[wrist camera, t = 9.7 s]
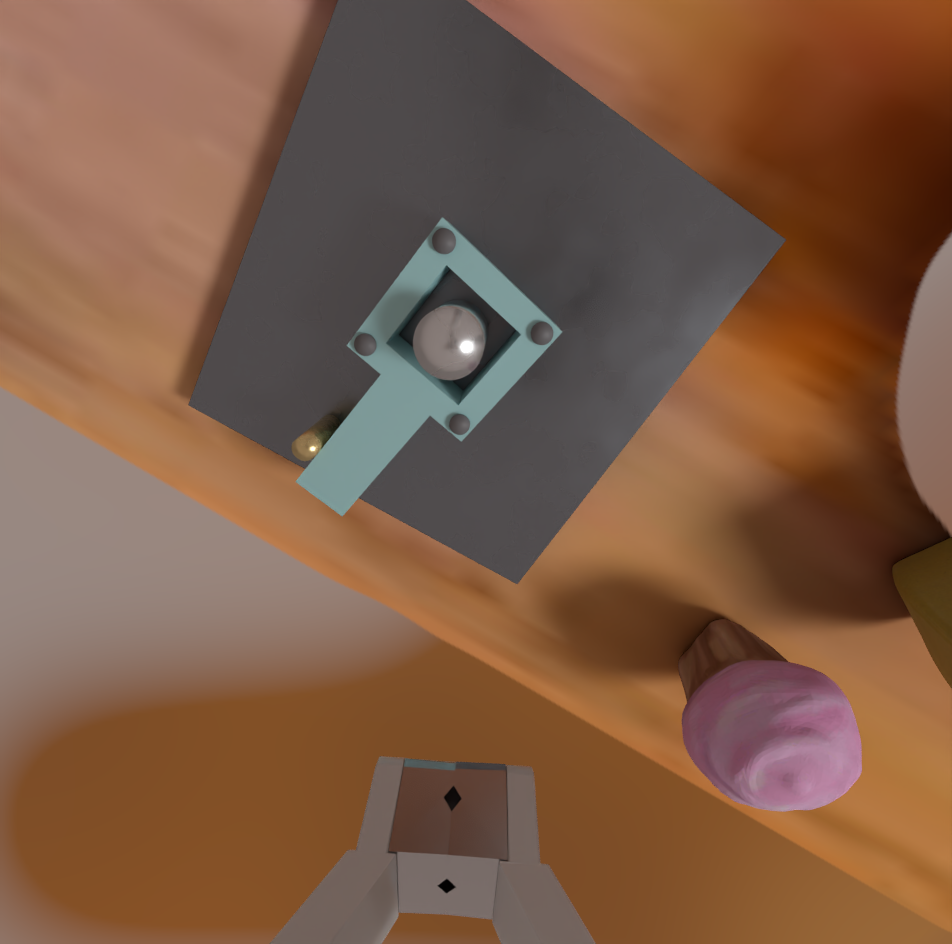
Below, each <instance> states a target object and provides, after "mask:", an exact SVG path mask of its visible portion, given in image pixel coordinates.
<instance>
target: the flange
mask: <svg viewBox="0 0 952 944" xmlns="http://www.w3.org/2000/svg"><path fill="white" fill-rule="evenodd" d="M450 269H451V270H452V271H453V272H455V273H456V274H457V275H458V276H459V277H460V278H461V279H462V280H463V281H464V282H465V283H466V284H467V285H468V286H470V287H471V288H472V289H473V290H474V291H475V292H476V293H477V294H478V295H479V296H480V297H481V298H482V299H484V300H485V301H486V302H487V303H488V304H489V305H490V306H491V307H492V308H493V309H494V310H495V311H496V312H498V313H499V314H500V315H501V316H502V317H503V318H504V319H505V320H506V321H507V322H508V323H509V324H510V325H511V326H513V327H514V328H515V329H516V332H515V333H514V334H513V335H512V336H511V337H510V338H509V339H508V341H507V342H506V343H505V344H504V345H503V346H502V347H501V349H500V350H499V351H498V352H497V353H496V354H495V355H494V356H493V358H492V359H491V360H490V361H489V362H488V363H487V364H486V366H485V367H484V368H483V369H482V370H481V371H480V372H479V374H478V375H477V376H476V377H475V378H474V379H473V380H472V381H471V383H470V384H469V385H468V386H467V387H466V388H465V389H464V391H463V390H462V389H461V388H459V387H458V386H457V385H456V384H455V383H454V382H453V381H451V380H443V379H439V378H436V377H434V376H432V375H430V374H429V373H428V372H426V371H425V370H424V369H423V368H422V367H421V365H420V364H419V362H418V360H417V358H416V356H415V353H414V349H413V347H412V346H411V345H410V344H409V343H408V342H406V341H405V340H404V339H403V338H402V337H401V336H400V335H399V334H400V332H401V331H402V330H403V328H404V327H405V326H406V325H407V323H408V322H409V321H410V320H411V318H412V317H413V316H414V314H415V313H416V312H417V311H418V309H419V308H420V307H421V305H422V304H423V303H424V302H425V300H426V299H427V298H428V297H429V295H430V294H431V293H432V291H433V290H434V289H435V288H436V286H437V285H438V284H439V283H440V281H441V280H442V279H443V277H444V276H445V275H446V274H447V272H448V271H449V270H450ZM561 333H562V331H561V330H560V328H559V327H558V326H557V325H556V324H555V323H554V322H553V321H552V320H551V319H550V318H549V317H548V316H547V315H546V314H545V313H544V312H543V311H542V310H540V309H539V308H538V307H537V306H536V305H535V304H534V303H533V302H532V301H531V300H530V299H529V298H528V297H527V296H526V295H525V294H524V293H523V292H522V291H521V290H520V289H519V288H517V287H516V286H515V285H514V284H513V283H512V282H511V281H510V280H509V279H508V278H507V277H506V276H505V275H504V274H503V273H502V272H501V271H500V270H499V269H498V268H497V267H496V266H494V265H493V264H492V263H491V262H490V261H489V260H488V259H487V258H486V257H485V256H484V255H483V254H482V253H481V252H480V251H479V250H478V249H477V248H476V247H475V246H474V245H472V244H471V243H470V242H469V241H468V240H467V239H466V238H465V237H464V236H463V235H462V234H461V233H460V232H459V231H458V230H457V229H456V228H455V227H454V226H453V225H452V224H451V223H449V222H448V221H447V220H445V219H444V218H443V217H442V218H441V220H440V221H439V222H438V224H437V225H436V226H435V228H434V229H433V230H432V232H431V233H430V234H429V236H428V237H427V238H426V240H425V241H424V242H423V244H422V245H421V246H420V248H419V249H418V250H417V252H416V253H415V255H414V256H413V257H412V259H411V260H410V261H409V263H408V264H407V265H406V267H405V268H404V269H403V271H402V272H401V273H400V275H399V276H398V277H397V279H396V280H395V281H394V283H393V284H392V285H391V287H390V288H389V289H388V291H387V292H386V293H385V295H384V296H383V297H382V299H381V300H380V301H379V303H378V304H377V305H376V307H375V308H374V309H373V311H372V312H371V314H370V315H369V316H368V318H367V319H366V320H365V322H364V323H363V324H362V326H361V327H360V328H359V330H358V331H357V332H356V334H355V335H354V336H353V338H352V339H351V340H350V342H349V343H348V344H347V346H348V347H349V348H350V349H351V350H352V351H354V352H355V353H356V354H357V355H358V356H359V357H361V358H362V359H363V360H364V361H365V362H367V363H368V364H369V365H370V366H371V367H373V368H374V369H375V370H376V371H377V372H379V373H380V374H381V375H380V376H379V377H378V379H377V380H376V381H375V382H374V384H373V385H372V386H371V387H370V389H369V390H368V391H367V392H366V394H365V395H364V396H363V397H362V399H361V400H360V401H359V402H358V404H357V405H356V406H355V408H354V409H353V410H352V411H351V413H350V414H349V415H348V416H347V418H346V419H345V420H344V421H343V423H342V424H341V425H340V426H339V428H338V429H337V430H336V431H335V433H334V434H333V435H332V436H331V438H330V439H329V440H328V441H327V443H326V444H325V445H324V446H323V448H322V449H321V450H320V452H319V453H318V454H317V455H316V457H315V458H314V459H313V460H312V462H311V463H310V464H309V465H308V467H307V468H306V469H305V470H304V472H303V473H302V474H301V475H300V477H299V478H298V479H297V480H296V482H297V483H298V484H299V485H301V486H302V487H303V488H305V489H306V490H307V491H309V492H310V493H311V494H313V495H314V496H315V497H317V498H318V499H320V500H321V501H322V502H324V503H325V504H326V505H328V506H329V507H330V508H332V509H333V510H334V511H336V512H337V513H338V514H340V515H341V516H343V515H344V514H345V513H346V511H347V510H348V509H349V508H350V507H351V506H352V505H353V503H354V502H355V501H356V500H357V499H358V498H359V497H360V495H361V494H362V493H363V492H364V491H365V490H366V488H367V487H368V486H369V485H370V484H371V483H372V482H373V480H374V479H375V478H376V477H377V476H378V475H379V474H380V472H381V471H382V470H383V469H384V468H385V467H386V466H387V464H388V463H389V462H390V461H391V460H392V459H393V457H394V456H395V455H396V454H397V453H398V452H399V451H400V449H401V448H402V447H403V446H404V445H405V444H406V443H407V441H408V440H409V439H410V438H411V437H412V436H413V434H414V433H415V432H416V431H417V430H418V429H419V428H420V426H421V425H422V424H423V423H424V422H425V421H426V420H427V418H428V417H429V416H431V417H432V418H434V419H435V420H436V421H437V422H438V423H440V424H441V425H442V426H443V427H444V428H446V429H447V430H448V431H449V432H450V433H452V434H453V435H454V436H455V437H456V438H457V439H459V440H460V441H461V442H462V440H463V439H464V438H465V437H466V436H467V435H468V434H469V433H470V432H471V431H472V430H473V429H474V427H475V426H476V425H477V424H478V423H479V422H480V421H481V420H482V419H483V418H484V417H485V416H486V414H487V413H488V412H489V411H490V410H491V409H492V408H493V407H494V406H495V405H496V404H497V402H498V401H499V400H500V399H501V398H502V397H503V396H504V395H505V394H506V393H507V392H508V391H509V389H510V388H511V387H512V386H513V385H514V384H515V383H516V382H517V381H518V380H519V379H520V378H521V376H522V375H523V374H524V373H525V372H526V371H527V370H528V369H529V368H530V367H531V366H532V365H533V363H534V362H535V361H536V360H537V359H538V358H539V357H540V356H541V355H542V354H543V353H544V351H545V350H546V349H547V348H548V347H549V346H550V345H551V344H552V343H553V342H554V341H555V340H556V338H557V337H558V336H559V335H560V334H561Z"/></svg>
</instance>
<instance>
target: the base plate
mask: <svg viewBox="0 0 952 944" xmlns="http://www.w3.org/2000/svg"><path fill="white" fill-rule="evenodd" d="M442 217H443V218H444V219H445V220H447V221H448V222H449V223H451V224H452V225H453V226H454V227H455V228H456V229H457V230H458V231H459V232H460V233H461V234H462V235H463V236H464V237H465V238H466V239H467V240H468V241H469V242H470V243H471V244H472V245H474V246H475V247H476V248H477V249H478V250H479V251H480V252H481V253H482V254H483V255H484V256H485V257H486V258H487V259H488V260H489V261H490V262H491V263H492V264H493V265H494V266H496V267H497V268H498V269H499V270H500V271H501V272H502V273H503V274H504V275H505V276H506V277H507V278H508V279H509V280H510V281H511V282H512V283H513V284H514V285H515V286H516V287H517V288H519V289H520V290H521V291H522V292H523V293H524V294H525V295H526V296H527V297H528V298H529V299H530V300H531V301H532V302H533V303H534V304H535V305H536V306H537V307H538V308H539V309H540V310H542V311H543V312H544V313H545V314H546V315H547V316H548V317H549V318H550V319H551V320H552V321H553V322H554V323H555V324H556V325H557V326H558V327H559V328H560V330H561V331H562V333H561V334H560V335H559V336H558V337H557V338H556V340H555V341H554V342H553V343H552V344H551V345H550V346H549V347H548V348H547V349H546V350H545V351H544V353H543V354H542V355H541V356H540V357H539V358H538V359H537V360H536V361H535V362H534V363H533V365H532V366H531V367H530V368H529V369H528V370H527V371H526V372H525V373H524V374H523V375H522V376H521V378H520V379H519V380H518V381H517V382H516V383H515V384H514V385H513V386H512V387H511V388H510V389H509V391H508V392H507V393H506V394H505V395H504V396H503V397H502V398H501V399H500V400H499V401H498V402H497V404H496V405H495V406H494V407H493V408H492V409H491V410H490V411H489V412H488V413H487V414H486V416H485V417H484V418H483V419H482V420H481V421H480V422H479V423H478V424H477V425H476V426H475V427H474V429H473V430H472V431H471V432H470V433H469V434H468V435H467V436H466V437H465V438H464V439H463V440H462V442H461V441H460V440H459V439H457V438H456V437H455V436H454V435H453V434H452V433H450V432H449V431H448V430H447V429H446V428H444V427H443V426H442V425H441V424H440V423H438V422H437V421H436V420H435V419H434V418H432V417H431V416H429V417H428V418H427V420H426V421H425V422H424V423H423V424H422V425H421V426H420V428H419V429H418V430H417V431H416V432H415V433H414V434H413V436H412V437H411V438H410V439H409V440H408V441H407V443H406V444H405V445H404V446H403V447H402V448H401V449H400V451H399V452H398V453H397V454H396V455H395V456H394V457H393V459H392V460H391V461H390V462H389V463H388V464H387V466H386V467H385V468H384V469H383V470H382V471H381V472H380V474H379V475H378V476H377V477H376V478H375V479H374V480H373V482H372V483H371V484H370V485H369V486H368V487H367V488H366V490H365V491H364V492H363V493H362V494H361V495H360V497H359V498H360V499H362V500H363V501H365V502H367V503H369V504H371V505H373V506H374V507H376V508H378V509H380V510H382V511H384V512H386V513H387V514H389V515H391V516H393V517H395V518H397V519H398V520H400V521H402V522H404V523H406V524H408V525H409V526H411V527H413V528H415V529H417V530H419V531H420V532H422V533H424V534H426V535H428V536H430V537H431V538H433V539H435V540H437V541H439V542H441V543H442V544H444V545H446V546H448V547H450V548H452V549H453V550H455V551H457V552H459V553H461V554H463V555H464V556H466V557H468V558H470V559H472V560H474V561H475V562H477V563H479V564H481V565H483V566H485V567H486V568H488V569H490V570H492V571H494V572H496V573H498V574H499V575H501V576H503V577H505V578H507V579H509V580H510V581H512V582H514V583H516V584H518V583H519V581H520V580H521V579H522V577H523V576H524V575H525V574H526V572H527V571H528V570H529V568H530V567H531V566H532V565H533V563H534V562H535V561H536V559H537V558H538V557H539V556H540V554H541V553H542V552H543V551H544V549H545V548H546V547H547V545H548V544H549V543H550V542H551V540H552V539H553V538H554V536H555V535H556V534H557V533H558V531H559V530H560V529H561V527H562V526H563V525H564V524H565V522H566V521H567V520H568V519H569V517H570V516H571V515H572V513H573V512H574V511H575V510H576V508H577V507H578V506H579V504H580V503H581V502H582V501H583V499H584V498H585V497H586V495H587V494H588V493H589V492H590V490H591V489H592V488H593V487H594V485H595V484H596V483H597V481H598V480H599V479H600V478H601V476H602V475H603V474H604V472H605V471H606V470H607V469H608V467H609V466H610V465H611V463H612V462H613V461H614V460H615V458H616V457H617V456H618V455H619V453H620V452H621V451H622V449H623V448H624V447H625V446H626V444H627V443H628V442H629V440H630V439H631V438H632V437H633V435H634V434H635V433H636V431H637V430H638V429H639V428H640V426H641V425H642V424H643V423H644V421H645V420H646V419H647V417H648V416H649V415H650V414H651V412H652V411H653V410H654V408H655V407H656V406H657V405H658V403H659V402H660V401H661V399H662V398H663V397H664V396H665V394H666V393H667V392H668V391H669V389H670V388H671V387H672V385H673V384H674V383H675V382H676V380H677V379H678V378H679V376H680V375H681V374H682V373H683V371H684V370H685V369H686V367H687V366H688V365H689V364H690V362H691V361H692V360H693V358H694V357H695V356H696V355H697V353H698V352H699V351H700V350H701V348H702V347H703V346H704V344H705V343H706V342H707V341H708V339H709V338H710V337H711V335H712V334H713V333H714V332H715V330H716V329H717V328H718V326H719V325H720V324H721V323H722V321H723V320H724V319H725V318H726V316H727V315H728V314H729V312H730V311H731V310H732V309H733V307H734V306H735V305H736V303H737V302H738V301H739V300H740V298H741V297H742V296H743V294H744V293H745V292H746V291H747V289H748V288H749V287H750V286H751V284H752V283H753V282H754V280H755V279H756V278H757V277H758V275H759V274H760V273H761V271H762V270H763V269H764V268H765V266H766V265H767V264H768V262H769V261H770V260H771V259H772V257H773V256H774V255H775V254H776V252H777V251H778V250H779V248H780V247H781V246H782V245H783V243H784V242H785V241H786V239H784V238H783V237H782V236H780V235H779V234H778V233H776V232H775V231H774V230H772V229H771V228H770V227H768V226H767V225H766V224H764V223H763V222H762V221H760V220H759V219H758V218H756V217H755V216H754V215H752V214H751V213H750V212H748V211H747V210H746V209H744V208H743V207H742V206H740V205H739V204H738V203H736V202H735V201H734V200H732V199H731V198H730V197H728V196H727V195H726V194H724V193H723V192H722V191H720V190H719V189H718V188H716V187H715V186H713V185H712V184H711V183H709V182H708V181H707V180H705V179H704V178H703V177H701V176H700V175H699V174H697V173H696V172H695V171H693V170H692V169H691V168H689V167H688V166H687V165H685V164H684V163H683V162H681V161H680V160H679V159H677V158H676V157H675V156H673V155H672V154H671V153H669V152H668V151H667V150H665V149H664V148H663V147H661V146H660V145H659V144H657V143H656V142H655V141H653V140H652V139H651V138H649V137H648V136H647V135H645V134H644V133H643V132H641V131H640V130H639V129H637V128H636V127H635V126H633V125H632V124H631V123H629V122H628V121H627V120H625V119H624V118H623V117H621V116H620V115H619V114H617V113H616V112H615V111H613V110H612V109H611V108H609V107H608V106H607V105H605V104H604V103H603V102H601V101H600V100H599V99H597V98H596V97H595V96H593V95H592V94H591V93H589V92H588V91H587V90H585V89H584V88H583V87H581V86H580V85H579V84H577V83H576V82H575V81H573V80H572V79H570V78H569V77H568V76H566V75H565V74H564V73H562V72H561V71H560V70H558V69H557V68H556V67H554V66H553V65H552V64H550V63H549V62H548V61H546V60H545V59H544V58H542V57H541V56H540V55H538V54H537V53H536V52H534V51H533V50H532V49H530V48H529V47H528V46H526V45H525V44H524V43H522V42H521V41H520V40H518V39H517V38H516V37H514V36H513V35H512V34H510V33H509V32H508V31H506V30H505V29H504V28H502V27H501V26H500V25H498V24H497V23H496V22H494V21H493V20H492V19H490V18H489V17H488V16H486V15H485V14H484V13H482V12H481V11H480V10H478V9H477V8H476V7H474V6H473V5H472V4H470V3H469V2H468V1H466V0H338V2H337V4H336V7H335V10H334V13H333V15H332V18H331V21H330V23H329V26H328V29H327V32H326V34H325V37H324V40H323V42H322V45H321V48H320V50H319V53H318V56H317V59H316V61H315V64H314V67H313V69H312V72H311V75H310V77H309V80H308V83H307V86H306V88H305V91H304V94H303V96H302V99H301V102H300V105H299V107H298V110H297V113H296V115H295V118H294V121H293V123H292V126H291V129H290V132H289V134H288V137H287V140H286V142H285V145H284V148H283V151H282V153H281V156H280V159H279V161H278V164H277V167H276V169H275V172H274V175H273V178H272V180H271V183H270V186H269V188H268V191H267V194H266V197H265V199H264V202H263V205H262V207H261V210H260V213H259V215H258V218H257V221H256V224H255V226H254V229H253V232H252V234H251V237H250V240H249V243H248V245H247V248H246V251H245V253H244V256H243V259H242V261H241V264H240V267H239V270H238V272H237V275H236V278H235V280H234V283H233V286H232V289H231V291H230V294H229V297H228V299H227V302H226V305H225V307H224V310H223V313H222V316H221V318H220V321H219V324H218V326H217V329H216V332H215V335H214V337H213V340H212V343H211V345H210V348H209V351H208V353H207V356H206V359H205V362H204V364H203V367H202V370H201V372H200V375H199V378H198V381H197V383H196V386H195V389H194V391H193V394H192V397H191V399H190V402H189V406H191V407H193V408H195V409H196V410H198V411H200V412H202V413H204V414H206V415H207V416H209V417H211V418H213V419H215V420H217V421H218V422H220V423H222V424H224V425H226V426H228V427H229V428H231V429H233V430H235V431H237V432H239V433H240V434H242V435H244V436H246V437H248V438H250V439H251V440H253V441H255V442H257V443H259V444H261V445H262V446H264V447H266V448H268V449H270V450H272V451H274V452H275V453H277V454H279V455H281V456H283V457H285V458H286V459H288V460H290V461H292V462H294V463H296V464H297V465H299V466H301V467H303V468H305V469H306V468H307V467H308V465H309V464H310V463H311V462H312V460H313V459H314V458H315V457H316V455H317V454H318V453H319V452H320V450H321V449H322V448H323V446H324V445H325V444H326V443H327V441H328V440H329V439H330V438H331V436H332V435H333V434H334V433H335V431H336V430H337V429H338V428H339V426H340V425H341V424H342V423H343V421H344V420H345V419H346V418H347V416H348V415H349V414H350V413H351V411H352V410H353V409H354V408H355V406H356V405H357V404H358V402H359V401H360V400H361V399H362V397H363V396H364V395H365V394H366V392H367V391H368V390H369V389H370V387H371V386H372V385H373V384H374V382H375V381H376V380H377V379H378V377H379V376H380V375H381V374H380V373H379V372H377V371H376V370H375V369H374V368H373V367H371V366H370V365H369V364H368V363H367V362H365V361H364V360H363V359H362V358H361V357H359V356H358V355H357V354H356V353H355V352H354V351H352V350H351V349H350V348H349V347H348V346H347V344H348V343H349V342H350V340H351V339H352V338H353V336H354V335H355V334H356V332H357V331H358V330H359V328H360V327H361V326H362V324H363V323H364V322H365V320H366V319H367V318H368V316H369V315H370V314H371V312H372V311H373V309H374V308H375V307H376V305H377V304H378V303H379V301H380V300H381V299H382V297H383V296H384V295H385V293H386V292H387V291H388V289H389V288H390V287H391V285H392V284H393V283H394V281H395V280H396V279H397V277H398V276H399V275H400V273H401V272H402V271H403V269H404V268H405V267H406V265H407V264H408V263H409V261H410V260H411V259H412V257H413V256H414V255H415V253H416V252H417V250H418V249H419V248H420V246H421V245H422V244H423V242H424V241H425V240H426V238H427V237H428V236H429V234H430V233H431V232H432V230H433V229H434V228H435V226H436V225H437V224H438V222H439V221H440V220H441V218H442ZM515 332H516V329H515V328H514V327H513V326H511V325H510V324H509V323H508V322H507V321H506V320H505V319H504V318H503V317H502V316H501V315H500V314H499V313H498V312H496V311H495V310H494V309H493V308H492V307H491V306H490V305H489V304H488V303H487V302H486V301H485V300H484V299H482V298H481V297H480V296H479V295H478V294H477V293H476V292H475V291H474V290H473V289H472V288H471V287H470V286H468V285H467V284H466V283H465V282H464V281H463V280H462V279H461V278H460V277H459V276H458V275H457V274H456V273H455V272H453V271H452V270H451V269H450V270H449V271H448V272H447V274H446V275H445V276H444V277H443V279H442V280H441V281H440V283H439V284H438V285H437V286H436V288H435V289H434V290H433V291H432V293H431V294H430V295H429V297H428V298H427V299H426V300H425V302H424V303H423V304H422V305H421V307H420V308H419V309H418V311H417V312H416V313H415V314H414V316H413V317H412V318H411V320H410V321H409V322H408V323H407V325H406V326H405V327H404V328H403V330H402V331H401V332H400V334H399V335H400V336H401V337H402V338H403V339H404V340H405V341H406V342H408V343H409V344H410V345H411V346H412V347H413V349H414V353H415V356H416V358H417V360H418V362H419V364H420V365H421V367H422V368H423V369H424V370H425V371H426V372H428V373H429V374H430V375H432V376H434V377H436V378H439V379H443V380H451V381H453V382H454V383H455V384H456V385H457V386H458V387H459V388H461V389H462V390H463V391H464V389H465V388H466V387H467V386H468V385H469V384H470V383H471V381H472V380H473V379H474V378H475V377H476V376H477V375H478V374H479V372H480V371H481V370H482V369H483V368H484V367H485V366H486V364H487V363H488V362H489V361H490V360H491V359H492V358H493V356H494V355H495V354H496V353H497V352H498V351H499V350H500V349H501V347H502V346H503V345H504V344H505V343H506V342H507V341H508V339H509V338H510V337H511V336H512V335H513V334H514V333H515Z"/></svg>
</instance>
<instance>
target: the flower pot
mask: <svg viewBox="0 0 952 944" xmlns="http://www.w3.org/2000/svg"><path fill="white" fill-rule="evenodd" d="M892 574H893V580H894V583H895V586H896V588H897V590H898V592H899V594H900V596H901V598H902V600H903V602H904V603H905V605H906V607H907V609H908V611H909V613H910V615H911V617H912V618H913V620H914V622H915V624H916V626H917V628H918V630H919V632H920V634H921V636H922V638H923V640H924V643H925V645H926V647H927V649H928V651H929V653H930V655H931V657H932V659H933V660H934V662H935V664H936V666H937V667H938V669H939V671H940V672H941V674H942V675H943V677H944V678H945V680H946V681H947V683H948V684H949V686H950V687H951V688H952V537H951V538H949V539H947V540H945V541H943V542H940V543H938V544H936V545H934V546H932V547H930V548H927V549H925V550H923V551H921V552H918V553H916V554H914V555H912V556H909V557H907V558H905V559H903V560H901V561H899V562H897V563H896V564H894V565H893V567H892Z"/></svg>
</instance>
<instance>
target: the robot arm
mask: <svg viewBox="0 0 952 944" xmlns="http://www.w3.org/2000/svg"><path fill="white" fill-rule="evenodd" d="M398 912H400V913H425V914H447V915H457V916H465V917H475V918H484V919H493V925H494V927H495V930H496V932H497V935H498V937H499V939H500V942H501V944H596V943H595V942H594V940H593V938H592V937H591V935H590V933H589V932H588V930H587V928H586V927H585V925H584V924H583V922H582V920H581V918H580V916H579V915H578V913H577V912H576V910H575V908H574V906H573V905H572V903H571V901H570V900H569V898H568V897H567V895H566V893H565V891H564V890H563V888H562V886H561V885H560V883H559V881H558V880H557V878H556V876H555V875H554V873H553V871H552V870H551V868H550V866H549V865H548V864H540V852H539V838H538V824H537V810H536V796H535V783H534V772H533V770H532V767H531V766H513V765H505V764H491V763H471V762H445V761H431V760H419V759H407V758H397V757H382V756H380V758H379V760H378V762H377V764H376V767H375V772H374V776H373V780H372V784H371V789H370V793H369V797H368V801H367V806H366V810H365V814H364V819H363V823H362V827H361V831H360V836H359V840H358V844H357V848H356V850H348V851H347V852H346V853H345V854H344V856H343V857H342V858H341V859H340V860H339V861H338V863H337V864H336V865H335V866H334V867H333V869H332V870H331V871H330V872H329V873H328V875H327V876H326V877H325V878H324V879H323V881H322V882H321V883H320V884H319V885H318V886H317V888H316V889H315V890H314V891H313V892H312V894H311V895H310V896H309V897H308V899H307V900H306V901H305V902H304V903H303V904H302V906H301V907H300V908H299V909H298V910H297V912H296V913H295V914H294V915H293V916H292V918H291V919H290V920H289V921H288V923H287V924H286V925H285V926H284V927H283V928H282V930H281V931H280V932H279V933H278V934H277V936H276V937H275V938H274V939H273V941H272V942H271V943H270V944H382V942H383V941H384V939H385V937H386V936H387V934H388V932H389V931H390V929H391V927H392V926H393V924H394V923H395V921H396V919H397V918H398Z"/></svg>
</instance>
